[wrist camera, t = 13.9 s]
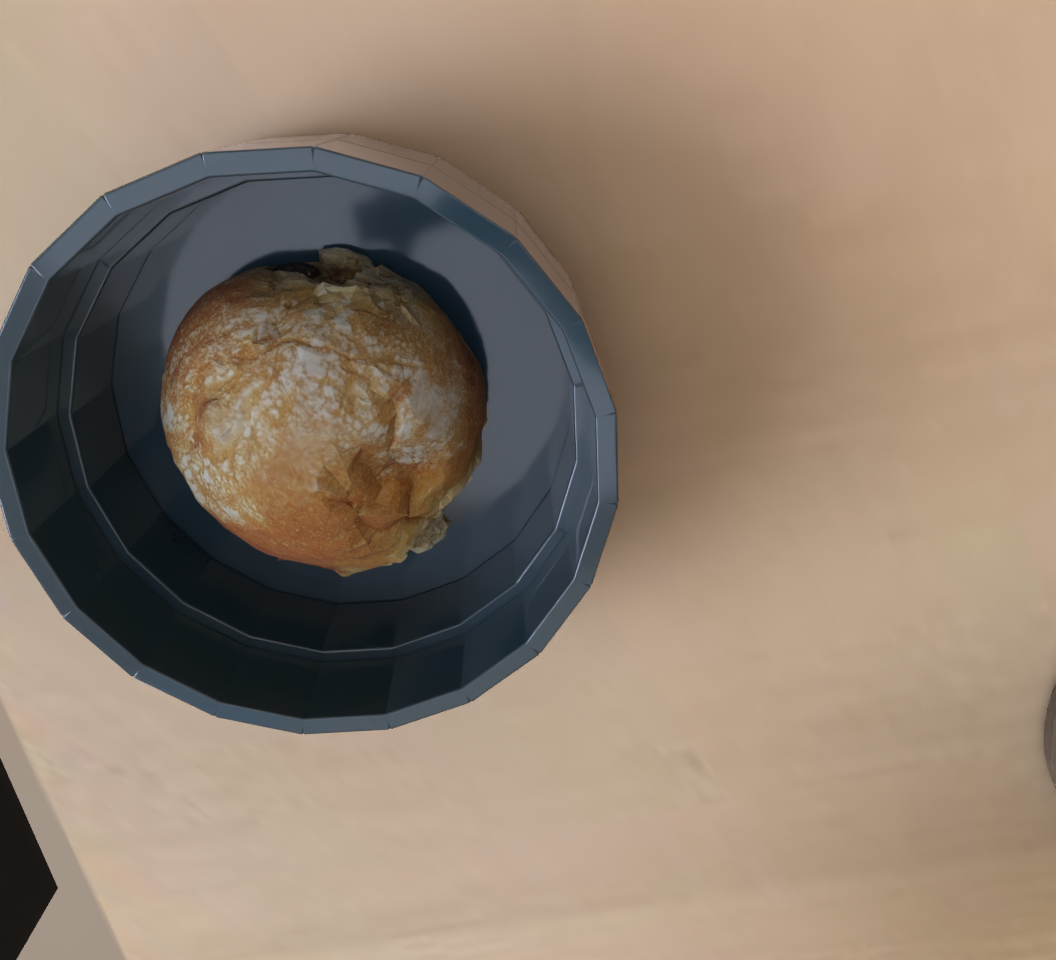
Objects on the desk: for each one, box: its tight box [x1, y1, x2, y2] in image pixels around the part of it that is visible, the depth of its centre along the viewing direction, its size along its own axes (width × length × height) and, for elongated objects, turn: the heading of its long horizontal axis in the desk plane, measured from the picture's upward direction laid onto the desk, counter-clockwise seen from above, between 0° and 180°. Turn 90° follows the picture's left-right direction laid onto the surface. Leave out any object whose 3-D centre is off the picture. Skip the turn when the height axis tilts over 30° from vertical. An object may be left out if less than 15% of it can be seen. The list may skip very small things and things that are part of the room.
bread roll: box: [160, 247, 488, 577], centre depth 30 cm, size 10×10×8 cm
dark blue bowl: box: [0, 133, 619, 734], centre depth 30 cm, size 17×17×7 cm
